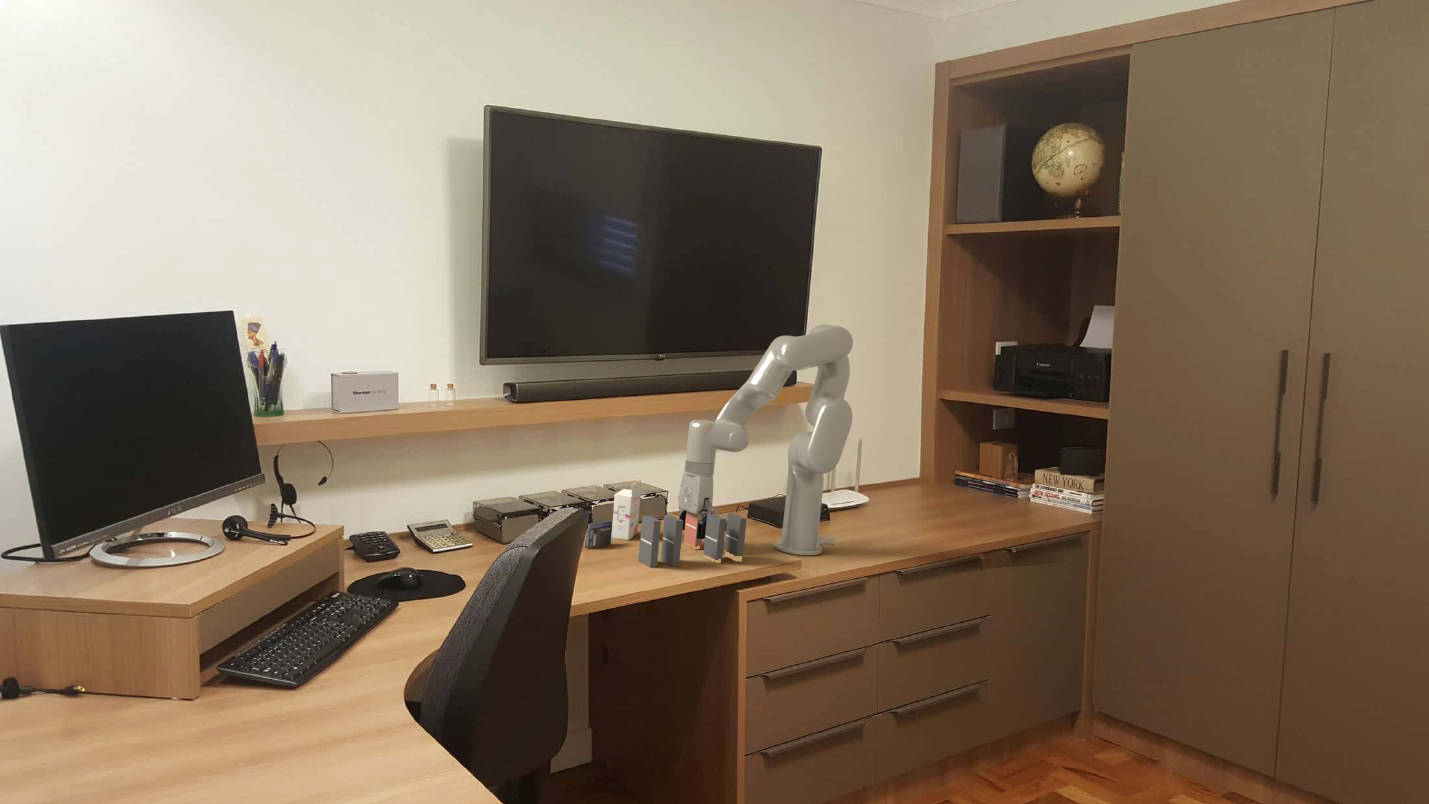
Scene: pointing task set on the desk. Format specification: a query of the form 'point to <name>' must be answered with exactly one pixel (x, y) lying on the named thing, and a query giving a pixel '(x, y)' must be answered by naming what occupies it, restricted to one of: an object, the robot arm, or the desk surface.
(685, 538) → the domino
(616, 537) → the ink cartridge box
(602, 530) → the mini dv tape
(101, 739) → the desk surface
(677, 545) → the domino
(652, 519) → the domino
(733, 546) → the domino
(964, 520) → the desk surface
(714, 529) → the domino
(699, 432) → the robot arm
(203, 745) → the desk surface
